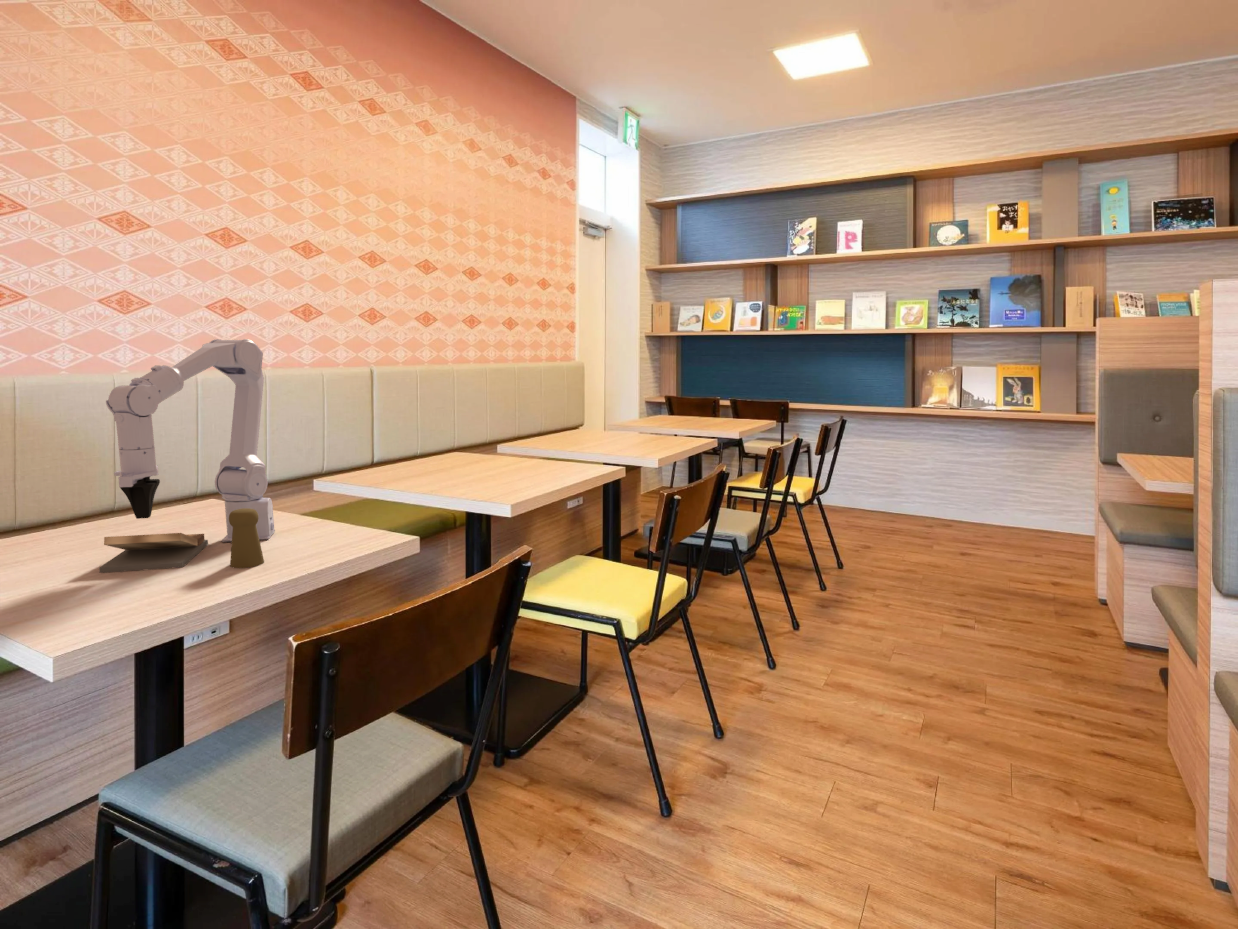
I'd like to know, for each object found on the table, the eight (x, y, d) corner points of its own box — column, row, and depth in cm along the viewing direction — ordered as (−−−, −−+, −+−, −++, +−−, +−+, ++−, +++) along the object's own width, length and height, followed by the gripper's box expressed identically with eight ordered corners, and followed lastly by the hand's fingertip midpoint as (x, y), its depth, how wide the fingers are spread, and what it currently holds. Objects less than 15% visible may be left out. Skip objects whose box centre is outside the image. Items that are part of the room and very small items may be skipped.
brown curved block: (204, 540, 157) (204, 533, 157) (198, 545, 153) (198, 538, 152) (136, 544, 153) (135, 537, 153) (128, 549, 149) (127, 542, 149)
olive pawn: (240, 559, 146) (236, 505, 144) (270, 559, 146) (266, 506, 144) (223, 568, 140) (219, 512, 138) (254, 568, 140) (250, 512, 138)
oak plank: (197, 545, 152) (197, 538, 152) (180, 540, 141) (180, 532, 142) (126, 550, 148) (126, 542, 149) (103, 544, 138) (104, 537, 138)
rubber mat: (208, 544, 158) (207, 539, 157) (182, 567, 140) (182, 562, 140) (134, 548, 154) (134, 543, 154) (99, 572, 137) (98, 567, 137)
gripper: (127, 444, 144) (134, 511, 146) (96, 453, 131) (104, 527, 133) (167, 443, 146) (173, 509, 148) (141, 452, 132) (147, 525, 134)
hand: (143, 517), depth 141 cm, fingers closed
